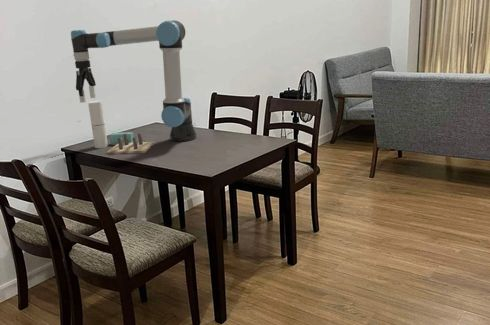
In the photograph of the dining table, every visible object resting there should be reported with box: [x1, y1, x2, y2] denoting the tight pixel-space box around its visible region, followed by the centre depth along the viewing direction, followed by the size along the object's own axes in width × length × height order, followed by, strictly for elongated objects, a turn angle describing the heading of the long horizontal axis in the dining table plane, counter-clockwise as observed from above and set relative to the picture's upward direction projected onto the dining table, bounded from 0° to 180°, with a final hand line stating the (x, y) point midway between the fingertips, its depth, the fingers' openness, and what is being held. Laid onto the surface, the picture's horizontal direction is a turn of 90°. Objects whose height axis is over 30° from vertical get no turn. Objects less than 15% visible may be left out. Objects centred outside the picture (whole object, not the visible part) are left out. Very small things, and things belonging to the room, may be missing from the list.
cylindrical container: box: [87, 100, 109, 149], centre depth 268 cm, size 7×7×25 cm
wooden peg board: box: [106, 132, 155, 155], centre depth 262 cm, size 20×18×7 cm
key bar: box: [109, 131, 135, 146], centre depth 275 cm, size 12×4×6 cm, turn 83°
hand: (88, 100), depth 265 cm, fingers open, 13 cm apart
